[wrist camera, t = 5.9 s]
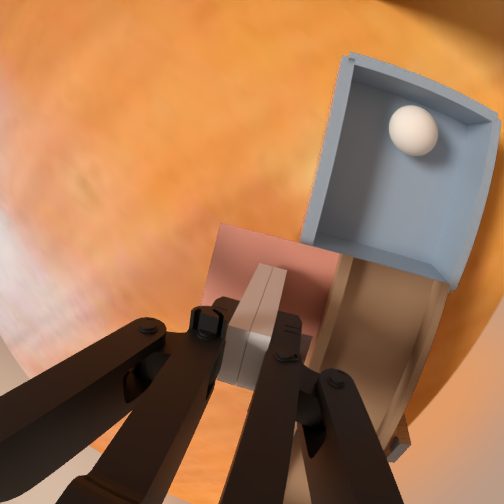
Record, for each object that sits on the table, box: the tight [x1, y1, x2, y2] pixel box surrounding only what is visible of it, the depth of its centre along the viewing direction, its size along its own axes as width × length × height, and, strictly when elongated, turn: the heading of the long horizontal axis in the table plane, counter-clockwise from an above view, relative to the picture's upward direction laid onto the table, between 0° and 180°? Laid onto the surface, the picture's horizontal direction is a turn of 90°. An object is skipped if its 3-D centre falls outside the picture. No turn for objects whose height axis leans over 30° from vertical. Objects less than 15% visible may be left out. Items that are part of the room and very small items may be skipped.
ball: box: [389, 105, 438, 156], centre depth 17 cm, size 4×4×4 cm
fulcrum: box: [300, 333, 411, 462], centre depth 23 cm, size 16×12×10 cm
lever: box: [201, 223, 450, 504], centre depth 17 cm, size 24×15×3 cm, turn 168°
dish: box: [299, 52, 501, 295], centre depth 18 cm, size 13×12×4 cm
